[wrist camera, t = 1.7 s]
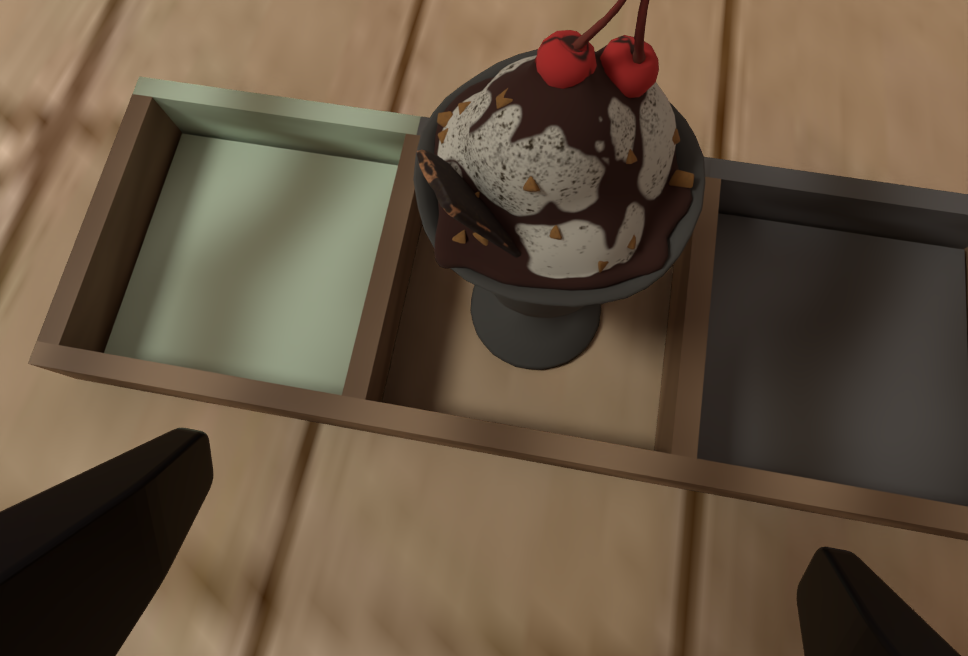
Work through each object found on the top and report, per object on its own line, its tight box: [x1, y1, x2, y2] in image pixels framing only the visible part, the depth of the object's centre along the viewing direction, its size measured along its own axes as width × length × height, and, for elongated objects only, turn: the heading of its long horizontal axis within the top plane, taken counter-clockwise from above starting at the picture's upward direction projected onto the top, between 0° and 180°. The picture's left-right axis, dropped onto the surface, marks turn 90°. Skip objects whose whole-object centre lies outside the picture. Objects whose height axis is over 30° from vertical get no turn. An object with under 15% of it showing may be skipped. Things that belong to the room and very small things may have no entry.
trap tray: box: [28, 77, 968, 541], centre depth 23 cm, size 33×12×2 cm, turn 80°
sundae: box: [413, 0, 705, 370], centre depth 17 cm, size 7×7×15 cm
